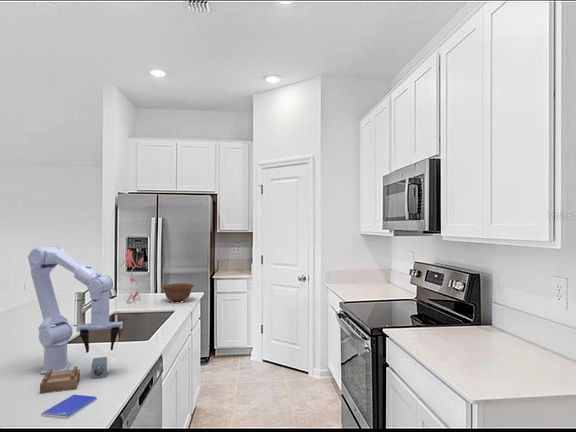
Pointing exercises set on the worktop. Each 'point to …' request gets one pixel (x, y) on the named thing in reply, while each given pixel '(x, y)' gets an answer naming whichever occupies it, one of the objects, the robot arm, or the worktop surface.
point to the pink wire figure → (128, 261)
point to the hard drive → (69, 406)
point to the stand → (60, 380)
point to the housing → (99, 368)
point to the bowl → (178, 291)
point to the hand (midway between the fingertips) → (99, 350)
